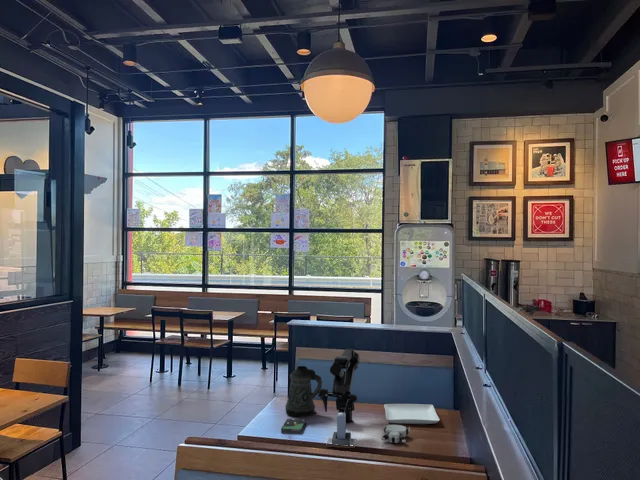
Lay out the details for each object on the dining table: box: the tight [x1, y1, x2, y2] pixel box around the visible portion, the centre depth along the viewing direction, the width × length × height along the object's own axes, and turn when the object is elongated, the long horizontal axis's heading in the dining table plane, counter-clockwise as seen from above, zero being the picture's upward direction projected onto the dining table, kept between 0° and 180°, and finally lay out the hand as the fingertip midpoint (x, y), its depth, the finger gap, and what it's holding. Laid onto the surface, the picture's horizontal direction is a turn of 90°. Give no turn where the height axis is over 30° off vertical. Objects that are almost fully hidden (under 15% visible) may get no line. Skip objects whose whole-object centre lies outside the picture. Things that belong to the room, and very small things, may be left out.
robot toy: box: [380, 424, 411, 444], centre depth 219 cm, size 12×4×15 cm
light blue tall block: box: [336, 411, 347, 439], centre depth 214 cm, size 6×4×13 cm, turn 174°
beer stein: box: [284, 365, 323, 418], centre depth 261 cm, size 16×19×25 cm
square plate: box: [383, 403, 440, 425], centre depth 250 cm, size 27×27×4 cm
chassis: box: [326, 431, 357, 446], centre depth 214 cm, size 10×13×4 cm
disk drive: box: [280, 418, 307, 435], centre depth 235 cm, size 10×3×15 cm
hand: (335, 413), depth 225 cm, fingers open, 9 cm apart
